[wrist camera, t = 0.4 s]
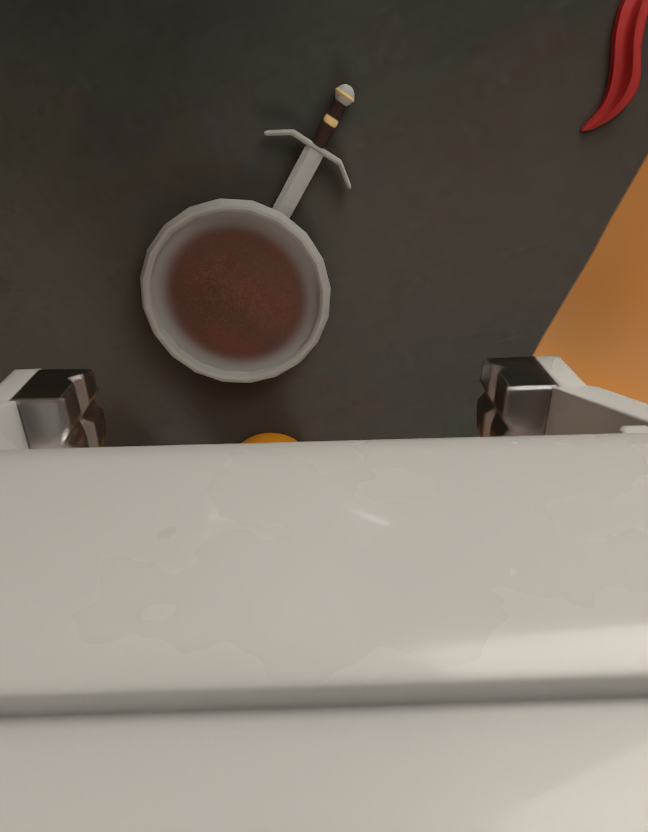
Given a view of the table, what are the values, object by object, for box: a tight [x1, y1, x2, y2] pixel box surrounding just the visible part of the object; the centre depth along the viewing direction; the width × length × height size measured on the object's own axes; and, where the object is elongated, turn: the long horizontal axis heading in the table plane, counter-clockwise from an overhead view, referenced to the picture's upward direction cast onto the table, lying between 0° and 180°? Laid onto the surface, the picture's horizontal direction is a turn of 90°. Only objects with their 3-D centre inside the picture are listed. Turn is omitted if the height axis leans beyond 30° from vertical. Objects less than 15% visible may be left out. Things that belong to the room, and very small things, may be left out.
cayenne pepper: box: [580, 0, 648, 131], centre depth 47 cm, size 12×5×2 cm, turn 156°
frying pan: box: [140, 84, 354, 383], centre depth 53 cm, size 17×3×28 cm
